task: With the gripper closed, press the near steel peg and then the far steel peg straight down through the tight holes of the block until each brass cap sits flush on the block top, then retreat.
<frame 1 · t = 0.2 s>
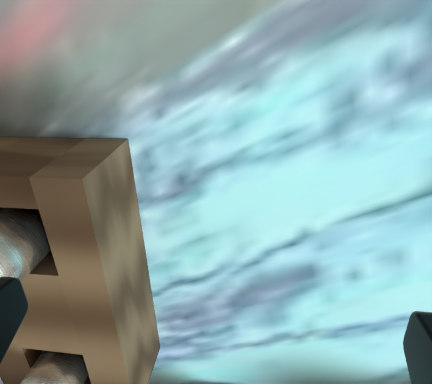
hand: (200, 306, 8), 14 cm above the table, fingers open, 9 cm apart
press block: (84, 255, 27), on the table
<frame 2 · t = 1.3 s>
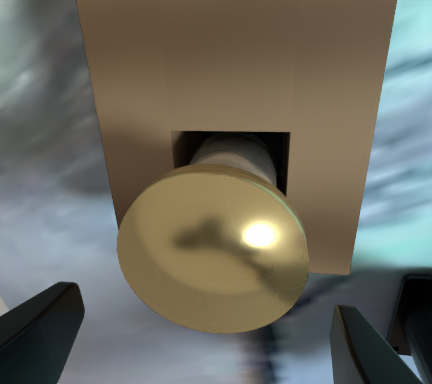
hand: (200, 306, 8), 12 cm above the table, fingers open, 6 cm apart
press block: (242, 25, 17), on the table
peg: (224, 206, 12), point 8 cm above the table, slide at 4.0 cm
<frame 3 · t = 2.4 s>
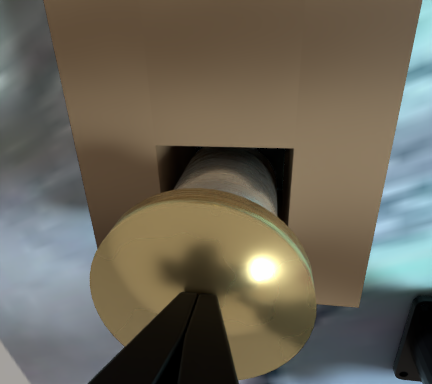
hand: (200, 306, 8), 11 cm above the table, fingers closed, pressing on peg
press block: (239, 24, 15), on the table
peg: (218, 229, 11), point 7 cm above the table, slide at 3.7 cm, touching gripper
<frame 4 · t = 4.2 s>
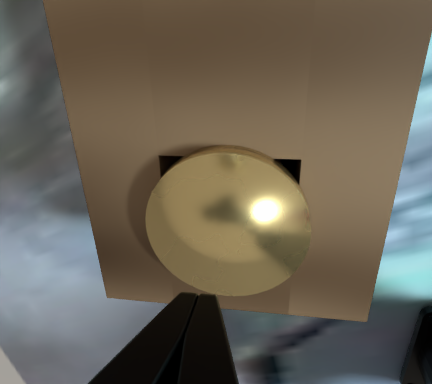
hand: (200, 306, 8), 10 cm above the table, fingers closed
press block: (244, 30, 15), on the table
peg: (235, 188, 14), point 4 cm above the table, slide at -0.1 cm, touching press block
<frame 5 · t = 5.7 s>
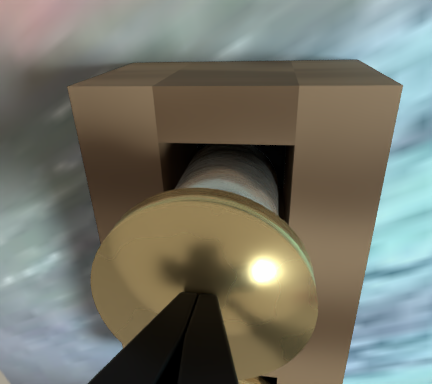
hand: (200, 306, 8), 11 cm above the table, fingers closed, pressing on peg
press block: (240, 238, 20), on the table
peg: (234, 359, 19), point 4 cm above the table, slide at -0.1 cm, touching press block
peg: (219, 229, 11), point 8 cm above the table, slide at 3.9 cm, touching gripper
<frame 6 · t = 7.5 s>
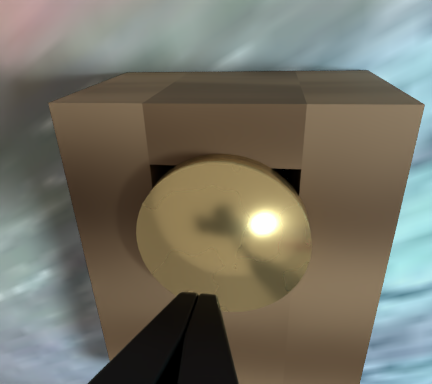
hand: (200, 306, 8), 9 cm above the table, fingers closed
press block: (240, 257, 19), on the table
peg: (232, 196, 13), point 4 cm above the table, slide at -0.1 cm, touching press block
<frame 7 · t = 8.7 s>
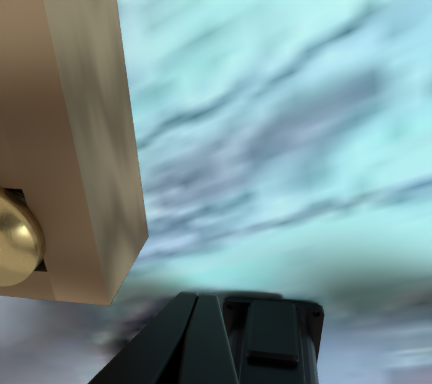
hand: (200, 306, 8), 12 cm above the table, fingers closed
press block: (38, 82, 19), on the table
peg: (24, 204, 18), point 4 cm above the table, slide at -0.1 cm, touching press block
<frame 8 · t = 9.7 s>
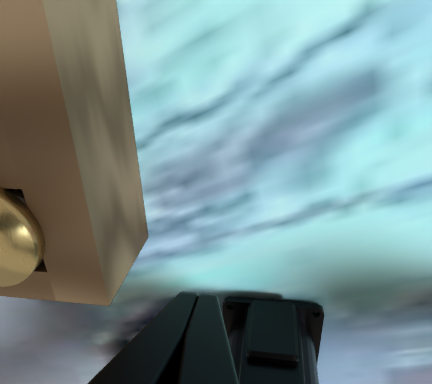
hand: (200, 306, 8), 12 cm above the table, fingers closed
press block: (38, 83, 19), on the table
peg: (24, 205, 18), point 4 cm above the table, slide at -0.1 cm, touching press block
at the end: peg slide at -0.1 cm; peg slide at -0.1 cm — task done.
